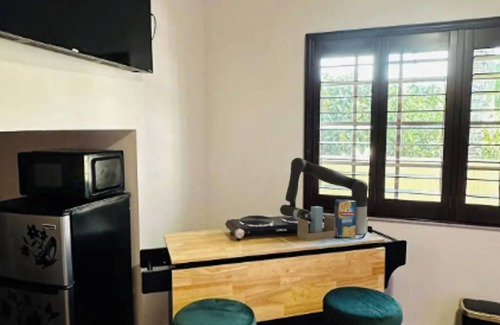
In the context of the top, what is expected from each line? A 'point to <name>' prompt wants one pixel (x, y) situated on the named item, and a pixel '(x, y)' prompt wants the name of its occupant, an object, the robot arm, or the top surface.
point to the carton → (326, 233)
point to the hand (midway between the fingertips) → (317, 219)
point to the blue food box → (345, 218)
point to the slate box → (316, 219)
